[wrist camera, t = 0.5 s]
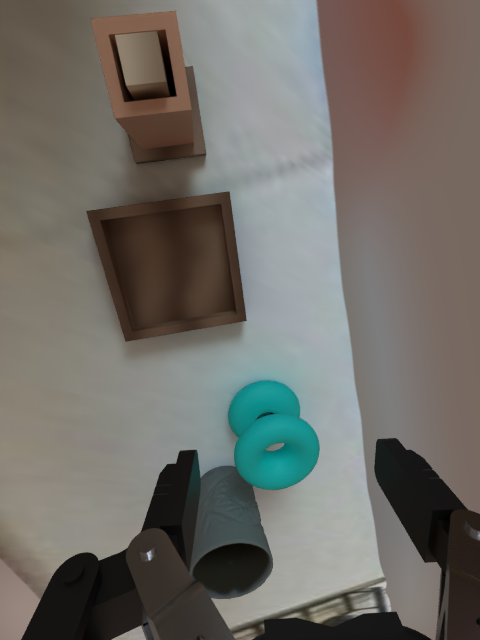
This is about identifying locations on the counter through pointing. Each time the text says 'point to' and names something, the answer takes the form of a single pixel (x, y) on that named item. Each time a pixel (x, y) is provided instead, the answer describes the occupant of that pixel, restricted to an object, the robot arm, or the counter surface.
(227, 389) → the counter surface
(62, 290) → the counter surface
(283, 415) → the donuts
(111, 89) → the sleeve
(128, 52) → the post
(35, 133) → the counter surface
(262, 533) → the grey tapered cup
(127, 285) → the tray
